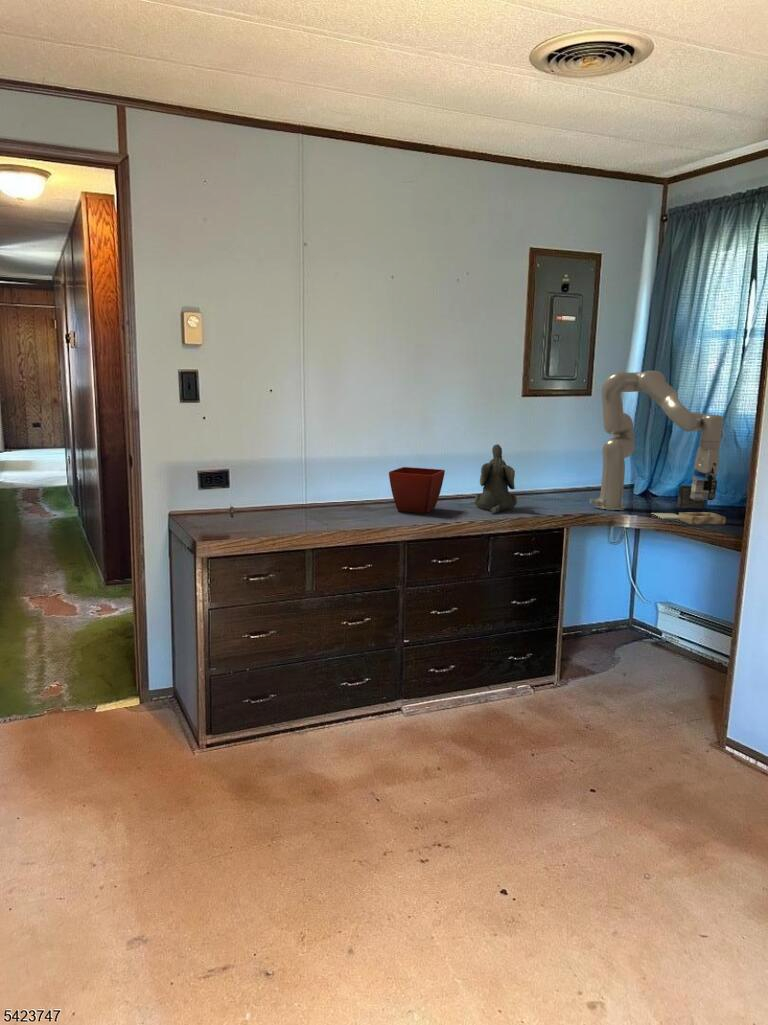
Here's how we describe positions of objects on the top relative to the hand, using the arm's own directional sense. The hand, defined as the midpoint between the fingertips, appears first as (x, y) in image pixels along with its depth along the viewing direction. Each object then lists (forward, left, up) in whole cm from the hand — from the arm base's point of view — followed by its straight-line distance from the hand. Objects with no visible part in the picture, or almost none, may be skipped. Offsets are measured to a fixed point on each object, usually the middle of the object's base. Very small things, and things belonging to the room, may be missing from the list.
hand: (703, 488), depth 314 cm
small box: (+13, +30, -14) cm, 35 cm away
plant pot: (-116, +26, -14) cm, 119 cm away
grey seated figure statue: (-80, +29, -14) cm, 86 cm away
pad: (-9, +11, -14) cm, 19 cm away
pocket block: (0, 0, -14) cm, 14 cm away
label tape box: (0, 0, -5) cm, 5 cm away
